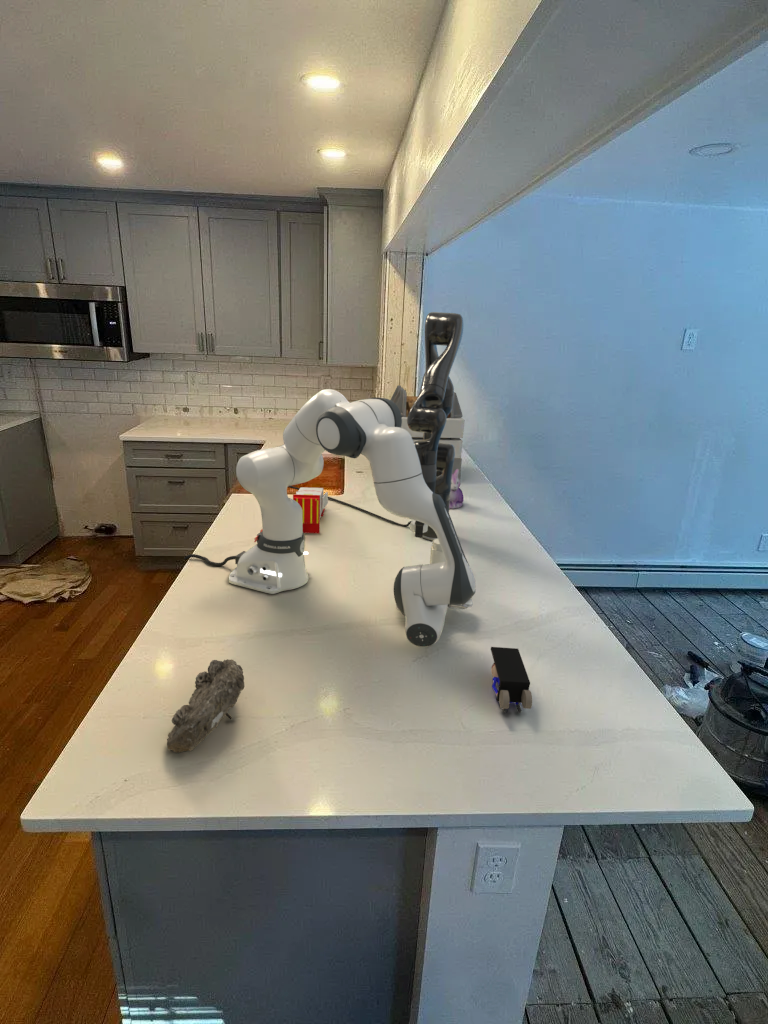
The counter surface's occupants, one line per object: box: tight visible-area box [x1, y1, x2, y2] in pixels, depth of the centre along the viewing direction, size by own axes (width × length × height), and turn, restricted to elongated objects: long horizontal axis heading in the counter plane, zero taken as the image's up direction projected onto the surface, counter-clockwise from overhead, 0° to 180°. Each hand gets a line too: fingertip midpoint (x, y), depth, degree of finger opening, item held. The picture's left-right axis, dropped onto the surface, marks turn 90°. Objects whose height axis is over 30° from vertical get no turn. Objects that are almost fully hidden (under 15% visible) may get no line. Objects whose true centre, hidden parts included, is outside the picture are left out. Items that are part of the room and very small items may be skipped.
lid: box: [409, 520, 428, 533], centre depth 165 cm, size 5×5×2 cm
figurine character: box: [490, 646, 533, 714], centre depth 117 cm, size 7×8×15 cm
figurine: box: [449, 469, 464, 509], centre depth 229 cm, size 9×10×15 cm
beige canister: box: [429, 539, 446, 564], centre depth 152 cm, size 4×4×18 cm
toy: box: [292, 486, 329, 534], centre depth 207 cm, size 12×13×30 cm
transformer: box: [390, 384, 465, 482], centre depth 268 cm, size 34×33×41 cm
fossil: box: [166, 658, 245, 754], centre depth 106 cm, size 22×10×15 cm
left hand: (436, 578), depth 154 cm, fingers closed on beige canister, 4 cm apart
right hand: (418, 533), depth 166 cm, fingers closed on lid, 5 cm apart
